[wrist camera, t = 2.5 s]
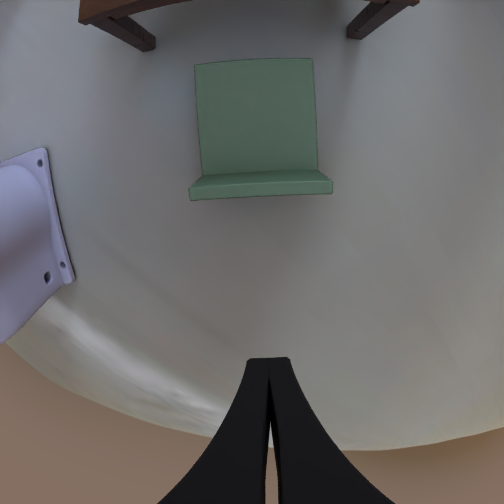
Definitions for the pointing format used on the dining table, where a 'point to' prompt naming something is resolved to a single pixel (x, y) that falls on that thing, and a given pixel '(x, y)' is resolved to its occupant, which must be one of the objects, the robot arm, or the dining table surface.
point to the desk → (126, 3)
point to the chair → (257, 129)
